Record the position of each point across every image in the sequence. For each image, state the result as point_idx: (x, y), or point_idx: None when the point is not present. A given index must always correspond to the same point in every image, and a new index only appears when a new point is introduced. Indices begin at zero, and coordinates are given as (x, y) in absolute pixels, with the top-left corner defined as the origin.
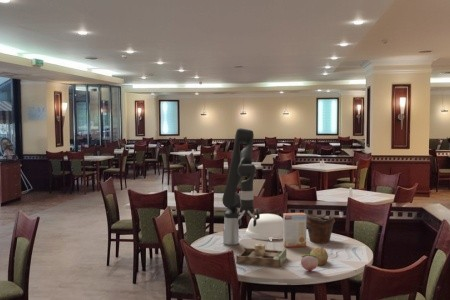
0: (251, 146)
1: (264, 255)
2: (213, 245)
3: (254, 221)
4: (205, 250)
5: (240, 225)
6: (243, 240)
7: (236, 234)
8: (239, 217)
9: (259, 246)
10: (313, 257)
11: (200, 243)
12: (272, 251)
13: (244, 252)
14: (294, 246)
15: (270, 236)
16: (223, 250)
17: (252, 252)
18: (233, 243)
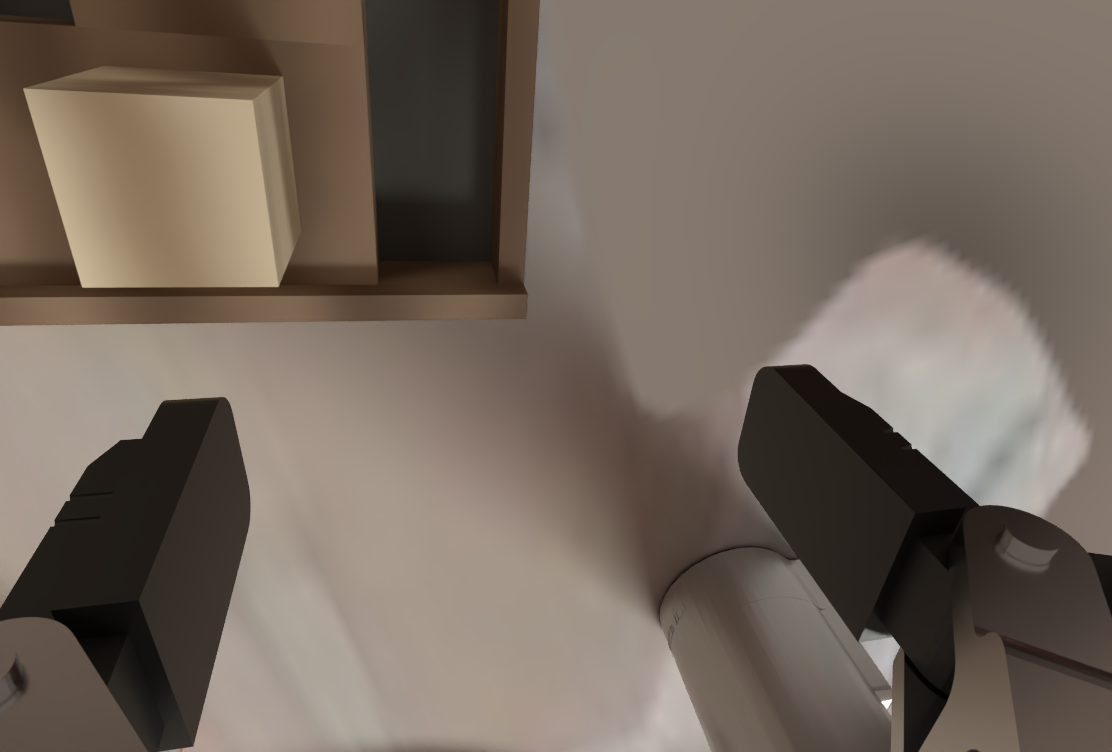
0: None
1: (56, 30)
2: None
3: (81, 554)
4: (991, 296)
5: (761, 383)
6: (626, 699)
7: (716, 673)
8: (1047, 590)
9: (127, 90)
10: None
11: (1013, 500)
12: (19, 292)
13: (499, 189)
14: None
15: None
16: (792, 357)
17: (357, 175)
18: (708, 570)
